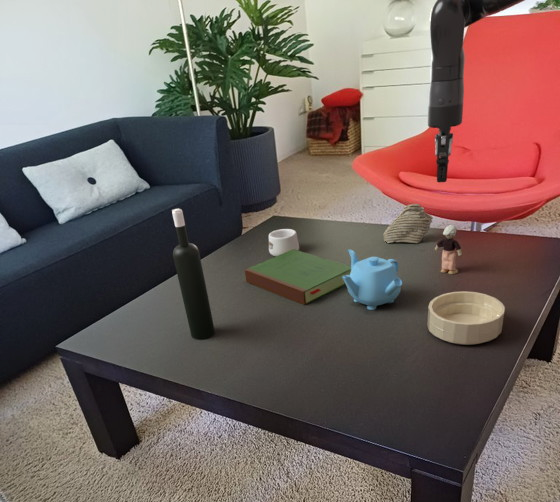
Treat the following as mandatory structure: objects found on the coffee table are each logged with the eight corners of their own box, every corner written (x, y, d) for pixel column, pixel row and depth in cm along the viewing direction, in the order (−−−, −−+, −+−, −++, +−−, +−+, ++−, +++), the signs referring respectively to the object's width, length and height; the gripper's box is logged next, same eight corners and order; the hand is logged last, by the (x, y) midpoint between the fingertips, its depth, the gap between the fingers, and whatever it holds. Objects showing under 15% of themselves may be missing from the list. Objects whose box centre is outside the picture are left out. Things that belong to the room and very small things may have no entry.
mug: (304, 252, 164) (303, 233, 161) (277, 260, 161) (274, 241, 158) (287, 242, 173) (286, 224, 170) (261, 249, 170) (259, 231, 167)
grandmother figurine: (463, 270, 141) (468, 224, 134) (459, 275, 138) (463, 229, 131) (435, 266, 145) (438, 221, 138) (430, 272, 142) (433, 226, 135)
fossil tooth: (384, 241, 168) (433, 236, 164) (383, 247, 163) (433, 242, 159) (381, 205, 162) (432, 198, 158) (380, 210, 157) (432, 204, 153)
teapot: (337, 311, 129) (335, 268, 122) (349, 287, 139) (348, 247, 133) (399, 315, 124) (401, 271, 117) (407, 290, 134) (409, 248, 128)
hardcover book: (246, 282, 149) (244, 269, 147) (294, 260, 159) (293, 249, 157) (306, 306, 133) (305, 292, 131) (356, 280, 142) (355, 268, 140)
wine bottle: (217, 327, 128) (194, 204, 111) (210, 339, 123) (184, 213, 107) (195, 327, 129) (169, 206, 113) (187, 339, 125) (158, 214, 108)
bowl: (512, 323, 116) (516, 300, 112) (483, 354, 106) (486, 331, 103) (446, 307, 125) (448, 286, 122) (414, 335, 115) (415, 313, 112)
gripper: (463, 105, 110) (458, 184, 119) (463, 97, 122) (458, 170, 130) (426, 108, 112) (424, 186, 121) (429, 100, 124) (427, 171, 132)
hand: (442, 177), depth 126 cm, fingers open, 8 cm apart
